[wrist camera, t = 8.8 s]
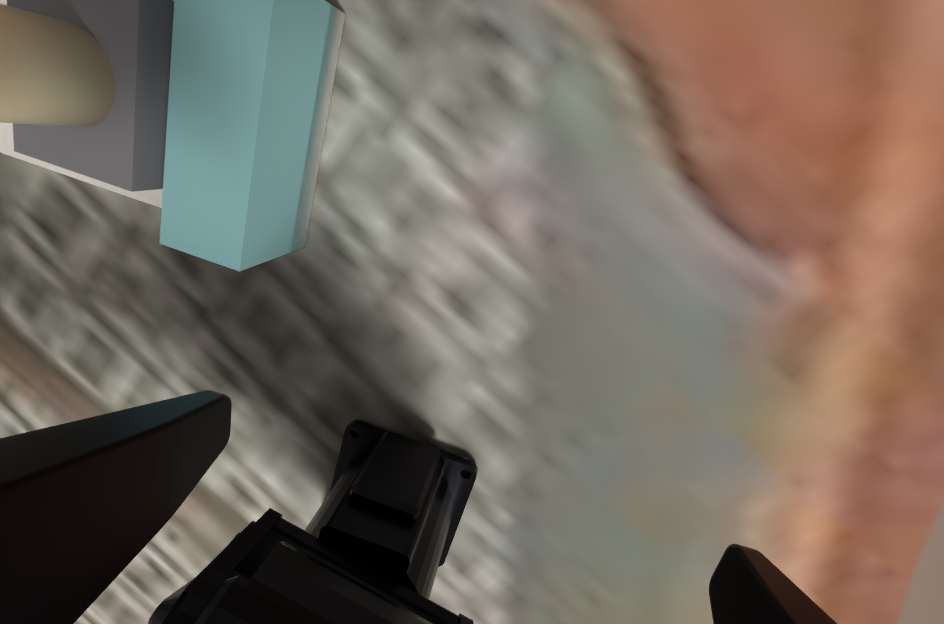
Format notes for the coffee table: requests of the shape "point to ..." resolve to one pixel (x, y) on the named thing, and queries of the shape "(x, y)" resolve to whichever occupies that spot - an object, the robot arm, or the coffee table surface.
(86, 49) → the carriage
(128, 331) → the coffee table surface
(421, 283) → the coffee table surface
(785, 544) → the coffee table surface
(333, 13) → the rail track
